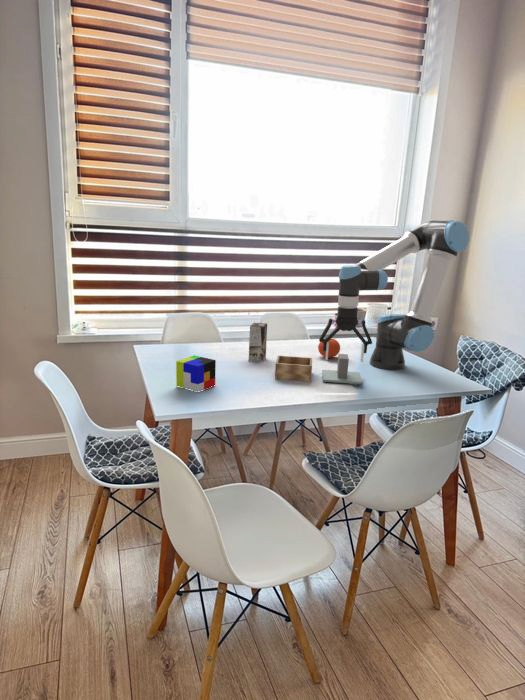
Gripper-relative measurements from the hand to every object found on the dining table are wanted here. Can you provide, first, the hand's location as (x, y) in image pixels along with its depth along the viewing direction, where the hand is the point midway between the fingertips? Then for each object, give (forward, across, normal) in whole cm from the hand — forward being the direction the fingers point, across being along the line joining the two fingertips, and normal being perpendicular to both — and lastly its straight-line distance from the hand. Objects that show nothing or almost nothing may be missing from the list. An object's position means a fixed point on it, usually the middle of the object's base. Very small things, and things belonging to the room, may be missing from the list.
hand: (344, 360), depth 184 cm
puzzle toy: (+8, +55, +19) cm, 58 cm away
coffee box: (+8, +37, -22) cm, 43 cm away
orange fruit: (+9, +5, -34) cm, 35 cm away
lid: (+9, +1, 0) cm, 9 cm away
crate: (+8, +20, 0) cm, 21 cm away
